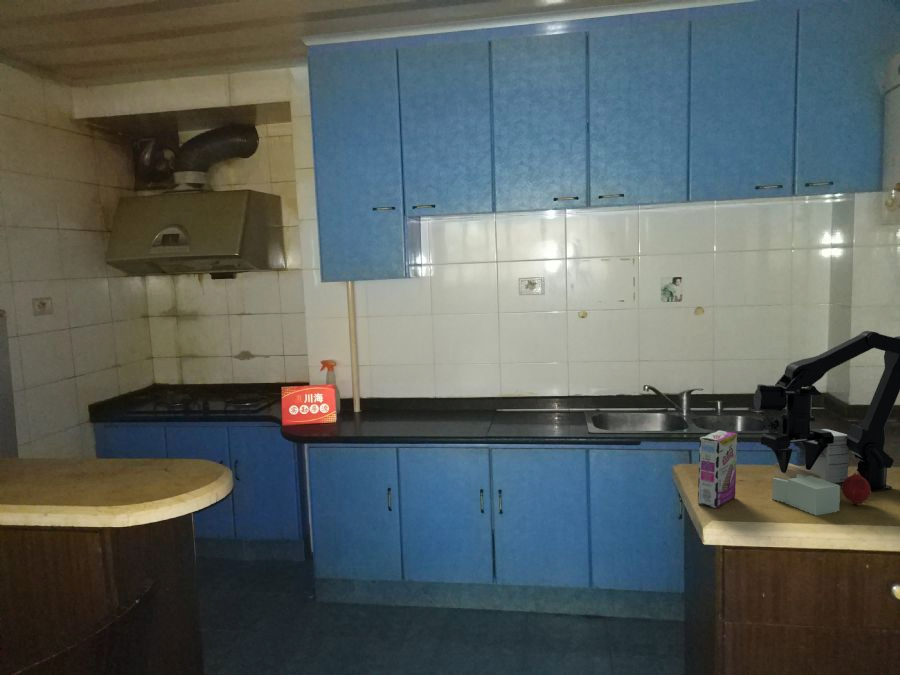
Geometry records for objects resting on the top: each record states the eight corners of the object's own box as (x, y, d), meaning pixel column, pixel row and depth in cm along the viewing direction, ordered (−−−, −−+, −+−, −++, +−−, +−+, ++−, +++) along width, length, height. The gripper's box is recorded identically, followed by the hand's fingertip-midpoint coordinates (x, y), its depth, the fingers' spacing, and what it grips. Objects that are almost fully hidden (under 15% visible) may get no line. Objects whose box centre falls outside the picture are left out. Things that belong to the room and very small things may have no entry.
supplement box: (803, 476, 174) (805, 430, 173) (826, 473, 176) (828, 428, 175) (825, 484, 167) (827, 436, 166) (848, 481, 169) (851, 434, 168)
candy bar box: (717, 509, 151) (719, 440, 149) (696, 504, 154) (697, 437, 153) (737, 497, 158) (738, 432, 157) (716, 493, 162) (717, 429, 161)
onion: (874, 509, 149) (876, 475, 148) (847, 508, 150) (848, 474, 149) (864, 501, 154) (865, 468, 154) (837, 499, 156) (838, 467, 155)
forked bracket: (799, 494, 159) (799, 470, 159) (841, 510, 148) (842, 485, 148) (771, 499, 157) (771, 474, 156) (812, 515, 145) (813, 489, 145)
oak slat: (786, 478, 173) (786, 462, 173) (819, 492, 161) (820, 475, 161) (774, 479, 173) (775, 463, 172) (807, 493, 161) (808, 476, 160)
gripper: (800, 403, 176) (798, 459, 177) (745, 408, 170) (743, 466, 171) (836, 411, 165) (833, 470, 167) (779, 416, 159) (776, 478, 161)
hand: (795, 471), depth 167 cm, fingers open, 8 cm apart
